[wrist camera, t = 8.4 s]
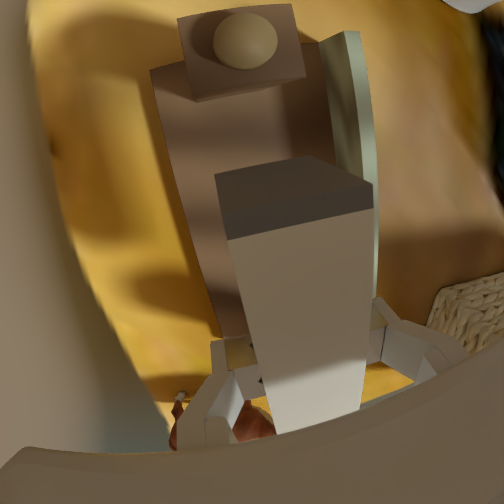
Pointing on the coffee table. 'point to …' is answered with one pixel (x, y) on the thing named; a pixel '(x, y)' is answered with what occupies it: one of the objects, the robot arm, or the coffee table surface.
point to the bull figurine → (246, 425)
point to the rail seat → (258, 120)
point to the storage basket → (471, 312)
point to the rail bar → (303, 281)
